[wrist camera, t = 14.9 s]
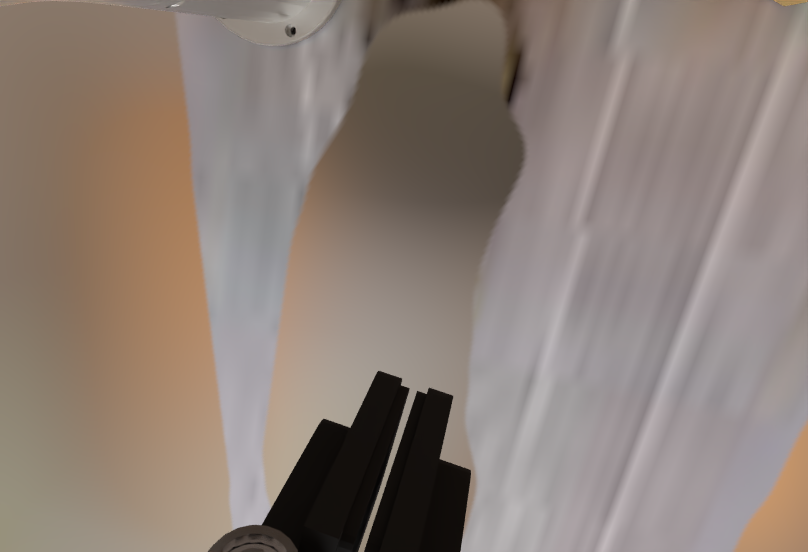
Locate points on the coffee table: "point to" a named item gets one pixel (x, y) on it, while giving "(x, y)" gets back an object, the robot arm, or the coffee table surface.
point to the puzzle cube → (790, 2)
